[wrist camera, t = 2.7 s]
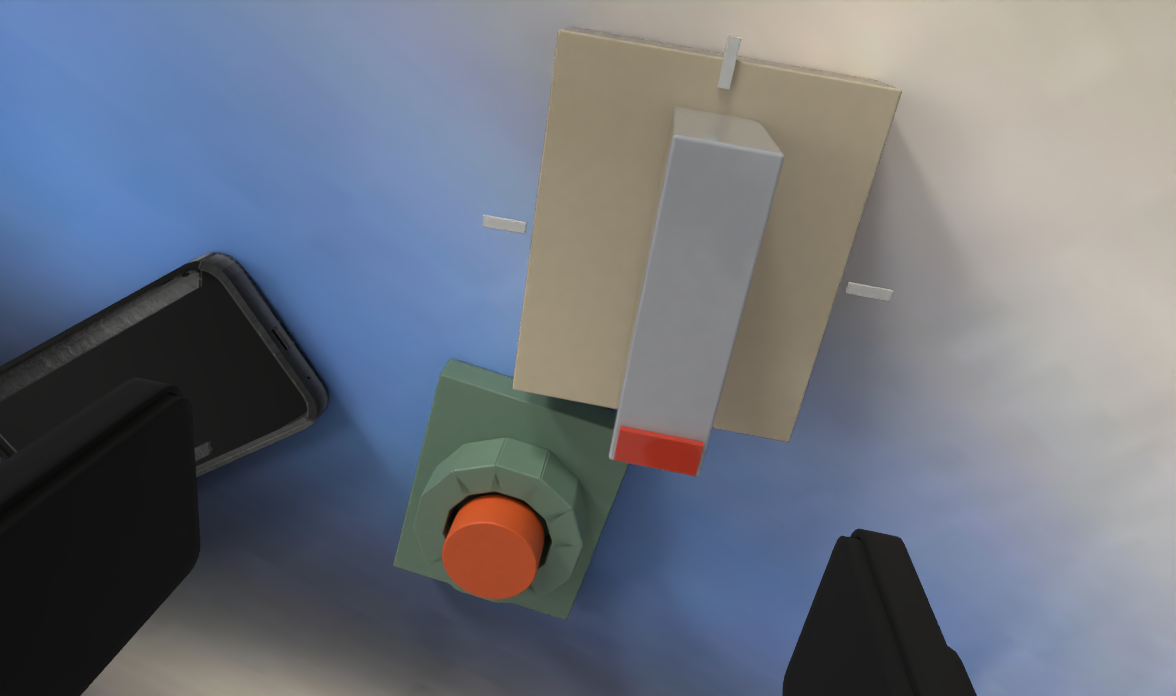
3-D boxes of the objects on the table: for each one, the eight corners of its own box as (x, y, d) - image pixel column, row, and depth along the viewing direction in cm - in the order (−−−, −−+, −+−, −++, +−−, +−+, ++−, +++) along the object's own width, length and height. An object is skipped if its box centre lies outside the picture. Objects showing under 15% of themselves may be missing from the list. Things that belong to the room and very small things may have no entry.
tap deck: (525, -3, 24) (504, -4, 21) (934, 69, 24) (969, 77, 21) (485, 360, 30) (465, 398, 27) (815, 423, 29) (830, 468, 26)
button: (465, 482, 28) (452, 510, 27) (555, 510, 28) (548, 540, 27) (445, 552, 30) (432, 582, 28) (531, 579, 30) (523, 611, 28)
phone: (-54, 396, 32) (208, 251, 28) (-31, 384, 33) (225, 242, 29) (72, 535, 34) (329, 421, 30) (89, 520, 35) (340, 408, 31)
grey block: (674, 105, 22) (673, 135, 17) (761, 121, 22) (787, 156, 17) (620, 373, 26) (606, 465, 21) (695, 387, 26) (699, 483, 21)
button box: (450, 357, 30) (423, 399, 27) (641, 418, 30) (637, 467, 27) (403, 544, 34) (375, 599, 31) (571, 596, 34) (560, 656, 31)
